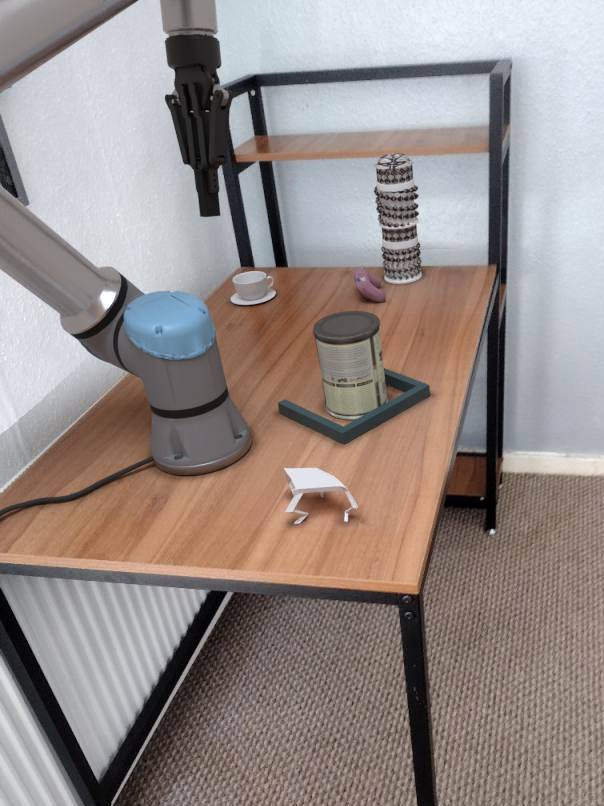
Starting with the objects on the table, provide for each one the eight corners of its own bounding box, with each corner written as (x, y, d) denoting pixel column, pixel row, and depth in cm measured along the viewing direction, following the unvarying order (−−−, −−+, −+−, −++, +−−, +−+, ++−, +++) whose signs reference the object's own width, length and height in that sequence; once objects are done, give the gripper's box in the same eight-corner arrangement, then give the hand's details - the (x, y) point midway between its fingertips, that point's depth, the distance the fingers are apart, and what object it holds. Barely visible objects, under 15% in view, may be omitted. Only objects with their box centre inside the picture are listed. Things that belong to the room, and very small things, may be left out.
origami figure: (267, 525, 104) (260, 494, 102) (291, 489, 111) (286, 459, 108) (352, 535, 101) (348, 504, 98) (372, 497, 107) (368, 467, 104)
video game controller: (365, 295, 172) (347, 268, 168) (382, 283, 171) (365, 256, 167) (369, 312, 164) (351, 284, 160) (388, 300, 163) (369, 272, 159)
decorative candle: (397, 287, 169) (387, 164, 155) (374, 277, 176) (362, 157, 161) (432, 276, 173) (425, 154, 158) (408, 266, 180) (399, 148, 165)
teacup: (236, 310, 168) (231, 289, 165) (226, 295, 175) (222, 275, 172) (281, 300, 170) (277, 279, 167) (269, 286, 178) (266, 265, 175)
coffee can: (318, 398, 132) (305, 318, 124) (377, 384, 134) (368, 305, 126) (334, 426, 124) (322, 343, 116) (396, 411, 126) (388, 328, 118)
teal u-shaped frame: (279, 413, 129) (277, 402, 128) (364, 370, 139) (362, 359, 138) (344, 444, 119) (342, 433, 118) (430, 395, 129) (429, 384, 128)
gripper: (243, 34, 109) (257, 216, 119) (185, 42, 117) (203, 213, 126) (199, 29, 104) (218, 219, 114) (141, 38, 111) (164, 216, 121)
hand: (210, 216), depth 120 cm, fingers closed
